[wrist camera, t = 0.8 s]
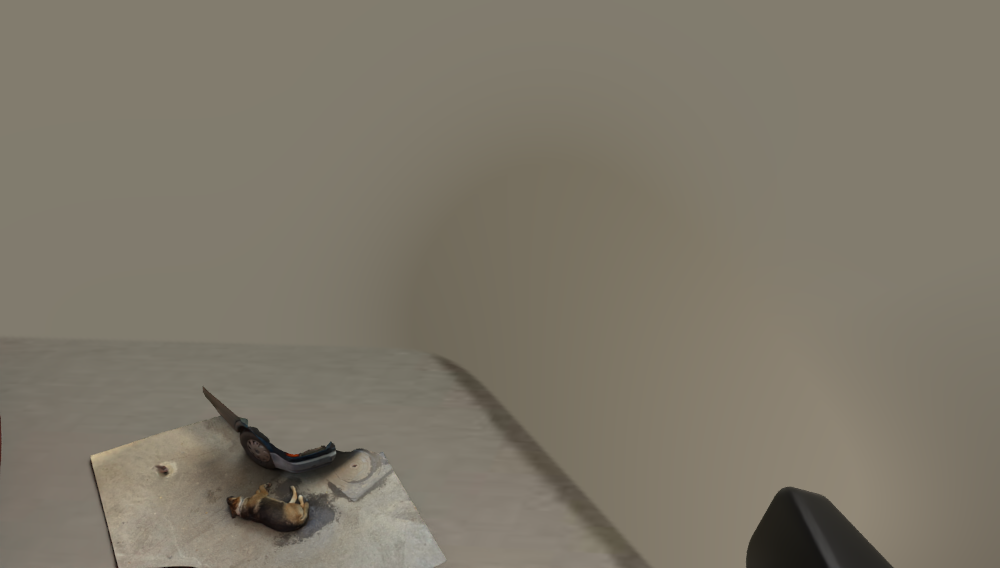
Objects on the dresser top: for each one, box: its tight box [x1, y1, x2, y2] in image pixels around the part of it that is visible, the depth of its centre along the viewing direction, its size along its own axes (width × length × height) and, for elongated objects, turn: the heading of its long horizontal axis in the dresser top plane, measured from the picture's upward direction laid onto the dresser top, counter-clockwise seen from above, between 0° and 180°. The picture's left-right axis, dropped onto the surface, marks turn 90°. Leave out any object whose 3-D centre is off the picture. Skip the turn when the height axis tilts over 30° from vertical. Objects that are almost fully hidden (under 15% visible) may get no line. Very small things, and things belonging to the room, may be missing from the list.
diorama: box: [90, 387, 447, 568], centre depth 23 cm, size 8×12×2 cm
